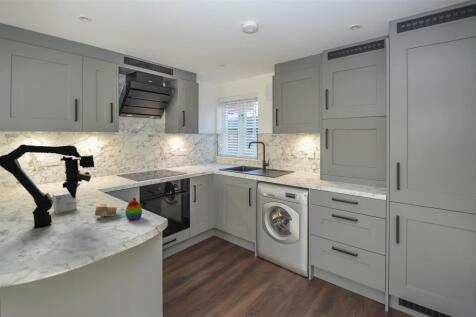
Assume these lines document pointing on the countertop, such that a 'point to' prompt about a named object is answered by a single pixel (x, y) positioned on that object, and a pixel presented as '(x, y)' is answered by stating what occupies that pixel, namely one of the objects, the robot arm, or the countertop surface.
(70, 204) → the light bulb box
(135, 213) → the decorative egg
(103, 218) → the slate mat
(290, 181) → the countertop surface
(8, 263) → the countertop surface
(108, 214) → the oak block
